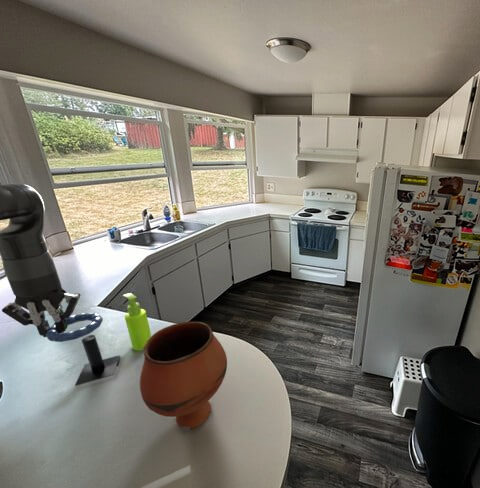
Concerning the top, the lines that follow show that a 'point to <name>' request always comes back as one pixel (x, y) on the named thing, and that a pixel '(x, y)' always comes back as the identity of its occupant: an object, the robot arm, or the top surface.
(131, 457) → the top surface
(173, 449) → the top surface
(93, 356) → the ring toss peg
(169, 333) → the goblet
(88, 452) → the top surface
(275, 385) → the top surface
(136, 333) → the soap dispenser
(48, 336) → the ring
